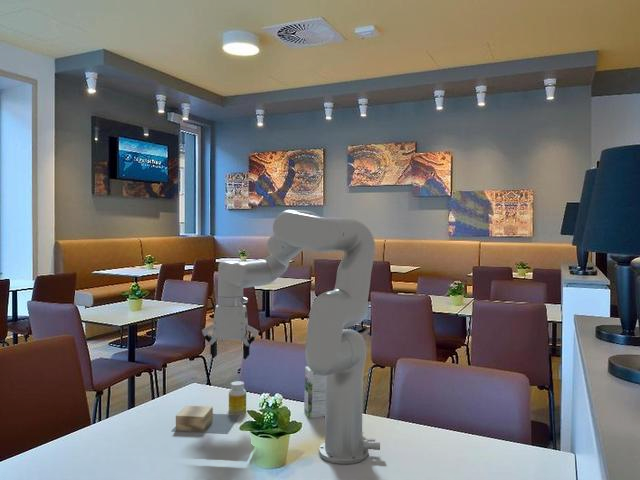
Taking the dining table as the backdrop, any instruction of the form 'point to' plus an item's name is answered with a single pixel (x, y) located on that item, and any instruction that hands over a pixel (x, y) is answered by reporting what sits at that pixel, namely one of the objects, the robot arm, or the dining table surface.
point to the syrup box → (314, 394)
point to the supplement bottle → (237, 397)
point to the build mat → (217, 424)
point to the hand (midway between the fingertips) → (229, 357)
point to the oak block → (194, 418)
